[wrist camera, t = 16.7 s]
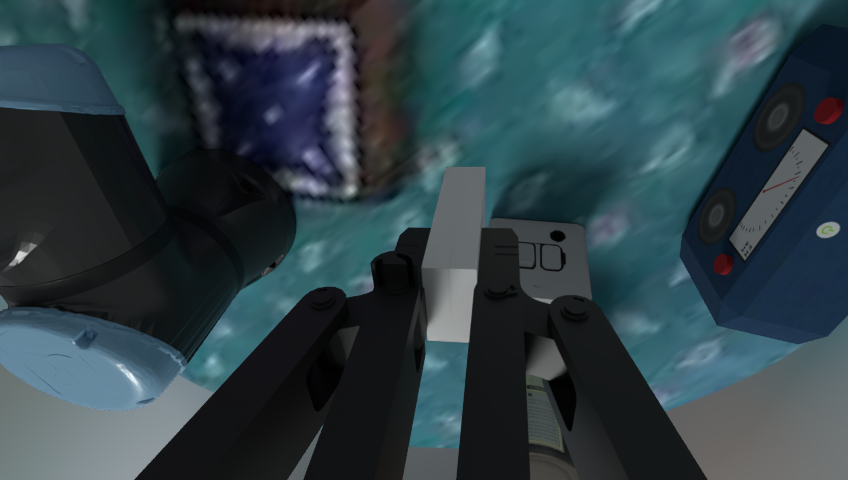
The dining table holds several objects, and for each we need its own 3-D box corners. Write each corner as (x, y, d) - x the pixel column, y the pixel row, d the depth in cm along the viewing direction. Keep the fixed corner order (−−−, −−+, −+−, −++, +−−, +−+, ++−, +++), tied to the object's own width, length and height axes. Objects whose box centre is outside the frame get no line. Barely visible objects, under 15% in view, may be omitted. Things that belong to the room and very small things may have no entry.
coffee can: (585, 373, 57) (606, 486, 45) (529, 411, 62) (535, 521, 50) (519, 332, 55) (523, 440, 43) (467, 375, 60) (458, 481, 48)
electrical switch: (584, 222, 46) (597, 289, 38) (574, 261, 49) (584, 330, 42) (489, 214, 47) (484, 278, 39) (485, 253, 50) (480, 318, 43)
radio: (793, 16, 34) (1069, 94, 17) (912, 42, 34) (1306, 146, 17) (661, 245, 46) (750, 421, 29) (749, 265, 45) (888, 453, 29)
